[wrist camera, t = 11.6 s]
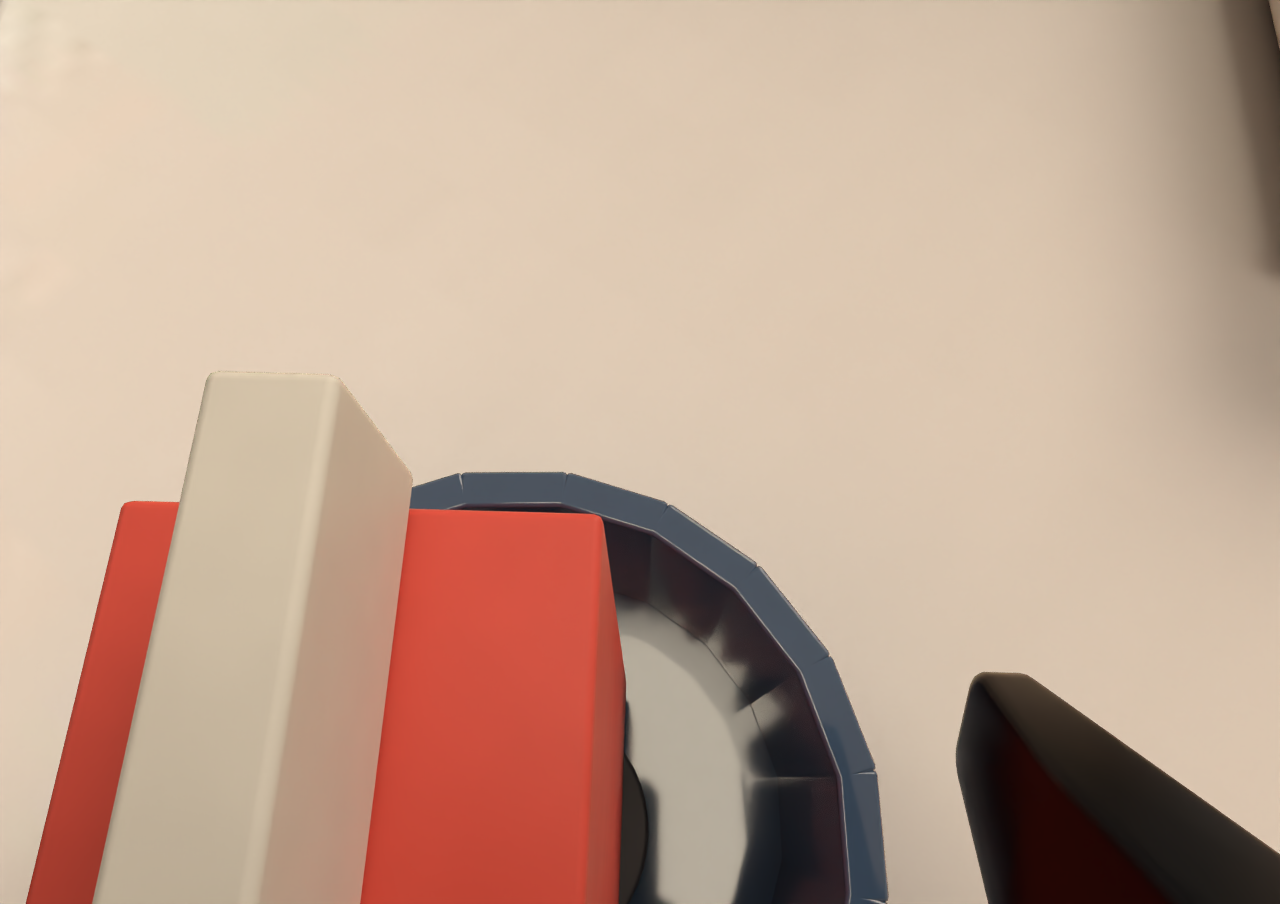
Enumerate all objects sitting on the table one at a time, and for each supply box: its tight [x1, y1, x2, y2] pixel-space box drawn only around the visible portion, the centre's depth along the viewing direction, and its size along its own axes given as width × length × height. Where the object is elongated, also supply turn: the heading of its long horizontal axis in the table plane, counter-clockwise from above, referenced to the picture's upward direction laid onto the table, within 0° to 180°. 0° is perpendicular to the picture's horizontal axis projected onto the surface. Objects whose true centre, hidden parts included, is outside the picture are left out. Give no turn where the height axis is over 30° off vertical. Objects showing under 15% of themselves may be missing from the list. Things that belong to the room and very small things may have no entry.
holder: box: [409, 472, 889, 904], centre depth 13 cm, size 9×9×6 cm
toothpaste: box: [26, 371, 649, 904], centre depth 9 cm, size 5×4×13 cm
